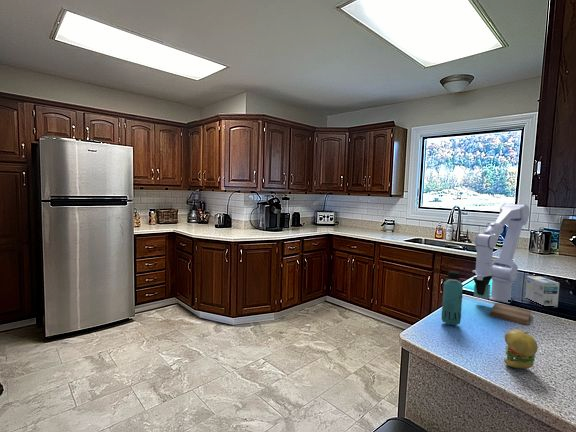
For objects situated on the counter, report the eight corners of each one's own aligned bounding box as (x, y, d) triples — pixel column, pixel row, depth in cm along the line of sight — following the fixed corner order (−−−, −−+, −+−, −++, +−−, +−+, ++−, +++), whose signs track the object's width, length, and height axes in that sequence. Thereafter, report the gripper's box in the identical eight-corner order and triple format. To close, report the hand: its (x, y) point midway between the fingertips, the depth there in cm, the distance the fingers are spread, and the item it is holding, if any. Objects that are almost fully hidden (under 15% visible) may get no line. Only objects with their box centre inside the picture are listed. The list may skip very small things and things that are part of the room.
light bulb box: (558, 307, 136) (560, 282, 135) (542, 307, 136) (544, 282, 135) (539, 298, 146) (541, 275, 145) (524, 298, 147) (526, 275, 146)
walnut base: (494, 307, 134) (495, 303, 134) (530, 315, 126) (530, 310, 126) (489, 316, 125) (489, 311, 125) (527, 325, 117) (527, 319, 117)
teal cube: (476, 293, 140) (477, 282, 139) (489, 296, 136) (490, 284, 136) (473, 296, 136) (474, 285, 135) (487, 299, 133) (488, 287, 132)
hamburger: (521, 361, 92) (525, 321, 91) (542, 376, 85) (546, 333, 84) (496, 362, 92) (499, 321, 90) (514, 376, 84) (518, 333, 83)
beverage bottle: (440, 326, 115) (443, 272, 113) (441, 320, 120) (444, 268, 119) (460, 330, 112) (464, 275, 110) (460, 323, 117) (464, 270, 116)
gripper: (477, 257, 143) (475, 287, 144) (469, 263, 132) (467, 295, 133) (495, 260, 138) (493, 290, 139) (489, 266, 127) (486, 299, 129)
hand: (481, 293), depth 136 cm, fingers closed on teal cube, 5 cm apart
